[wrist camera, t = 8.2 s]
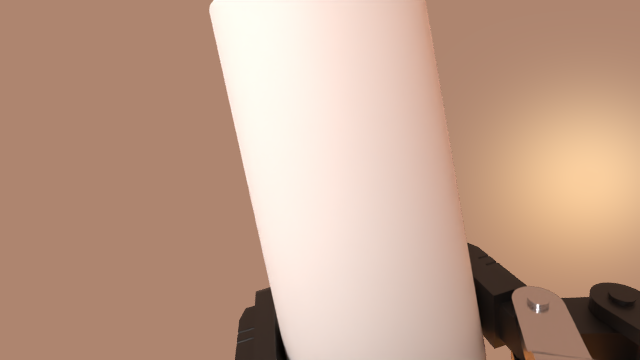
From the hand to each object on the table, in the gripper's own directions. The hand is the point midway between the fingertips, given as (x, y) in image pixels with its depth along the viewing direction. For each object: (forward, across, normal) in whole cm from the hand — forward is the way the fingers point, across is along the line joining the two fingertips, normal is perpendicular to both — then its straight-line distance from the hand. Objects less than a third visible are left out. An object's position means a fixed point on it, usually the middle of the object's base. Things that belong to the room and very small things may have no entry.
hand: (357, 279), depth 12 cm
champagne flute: (-2, 0, +14) cm, 14 cm away
